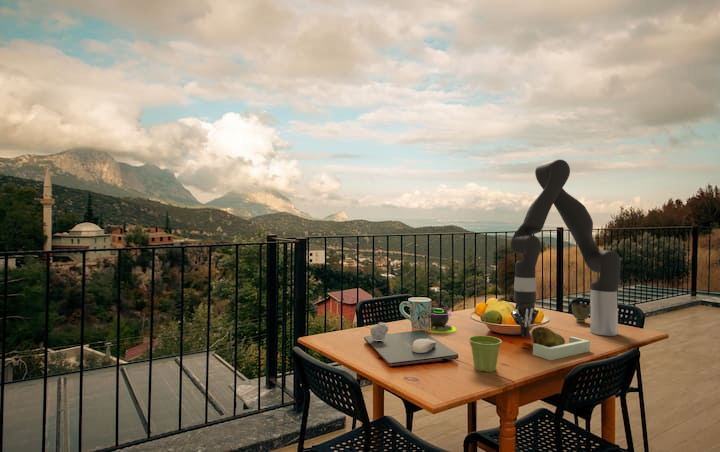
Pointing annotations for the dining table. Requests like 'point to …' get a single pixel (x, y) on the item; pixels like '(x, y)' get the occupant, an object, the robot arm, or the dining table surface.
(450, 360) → the dining table surface
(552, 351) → the corral
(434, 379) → the dining table surface
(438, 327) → the toy cauldron
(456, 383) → the dining table surface
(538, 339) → the olive green oval lump
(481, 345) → the plant pot
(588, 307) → the cup
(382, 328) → the grey rough lump
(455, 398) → the dining table surface
